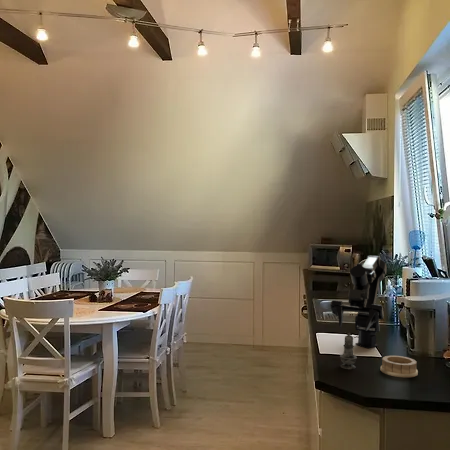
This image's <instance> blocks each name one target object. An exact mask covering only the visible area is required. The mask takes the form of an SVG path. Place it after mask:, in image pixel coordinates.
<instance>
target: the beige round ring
mask: <svg viewBox="0 0 450 450" xmlns="http://www.w3.org/2000/svg"><path fill="white" fill-rule="evenodd" d="M381 360H382V361H381V365H380V371H381V372H382V373H383V374H385V375H388V376H392V377H396V378H404V379H405V378H414V377H418V373H419V371H418V369H417V364H418V363H417V362H418V361H416V360H415V359H414V358H410V357H408V356H402V355H386V356H383V357H382V359H381Z"/></svg>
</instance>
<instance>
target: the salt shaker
mask: <svg viewBox="0 0 450 450" xmlns="http://www.w3.org/2000/svg"><path fill="white" fill-rule="evenodd" d="M354 348H355V346H354V337H353V336H352V335H351V333H350V332H348V334H347V335H345V336H344V344H343V354H340V355H339V358H340V361H341V362H342V364H340V366H339V367H340V368H342V369H346V370H355V369H356V368H357V366H355V365H354V364H355V363H356V361H357V359H358V357H357V356H356V355H355V354H354Z"/></svg>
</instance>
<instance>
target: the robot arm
mask: <svg viewBox="0 0 450 450" xmlns="http://www.w3.org/2000/svg"><path fill="white" fill-rule="evenodd" d="M387 270H388V269H387V263H386V261H384V260H382V259H381V256H378V255H367V256H366V260H365V262H364V263H356V265H354V266H353V267H352V268H350V270H349V272H350V278H351V282H352V285H353V288H349V290H348V295H347V296H348V297H347V299H348V300H347V301H348V304H343V300H336V299H333V300H332V301H330V309H331V313H332V314H333V315H335V316H336V317H337V319H338V323H339V324H338V325H339V328H340V329H342V326H343V320H344V311H347V312H355V313H357V314H356V315H355V318H354V319H355V320H354V323H355V324H354V326H355V331H358V334H357V335H358V336H357V339H358V341H357V342H355V345H356V346H358V347H359V346H360V347H363V348H367V349H369V348H375V347H378V344H377V336H376V333H380V321H381V320H383V319H384V316H385V315H384V314H385V313H384V308H383V307H384V306H383V305H382V304H377V298H378V297H377V296H378V291H379V285H380V283H381V282H382V281H383V280H384V279H385V275H387Z"/></svg>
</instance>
